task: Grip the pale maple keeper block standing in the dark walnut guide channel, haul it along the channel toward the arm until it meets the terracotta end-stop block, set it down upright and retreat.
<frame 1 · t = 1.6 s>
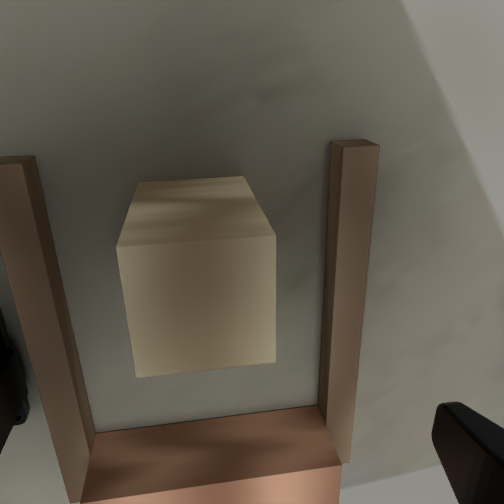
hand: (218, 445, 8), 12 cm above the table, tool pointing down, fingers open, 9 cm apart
keeper block: (195, 227, 19), on the table
guide track: (203, 329, 21), on the table
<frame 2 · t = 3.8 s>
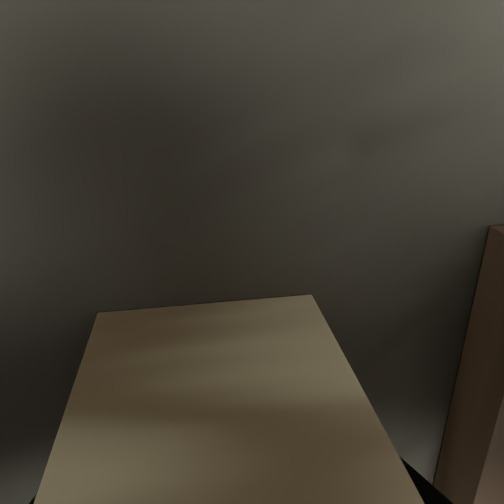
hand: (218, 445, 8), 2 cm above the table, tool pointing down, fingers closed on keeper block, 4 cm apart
keeper block: (213, 387, 10), on the table, touching gripper
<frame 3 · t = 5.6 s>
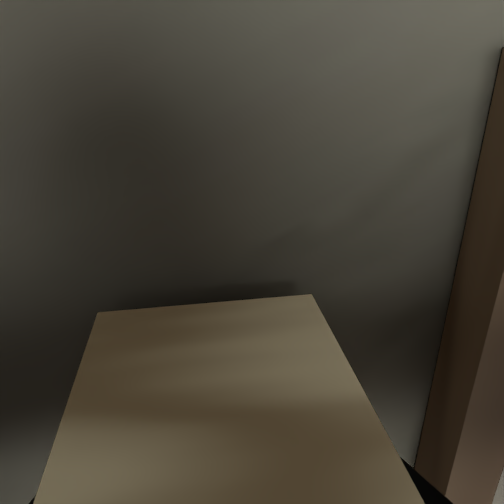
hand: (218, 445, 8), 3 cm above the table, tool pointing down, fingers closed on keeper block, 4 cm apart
keeper block: (213, 386, 10), point 1 cm above the table, touching gripper
guide track: (215, 415, 11), on the table
when the fingers open (2 cm above the table, at t = 7.8 s): keeper block stays where it is, on the table.
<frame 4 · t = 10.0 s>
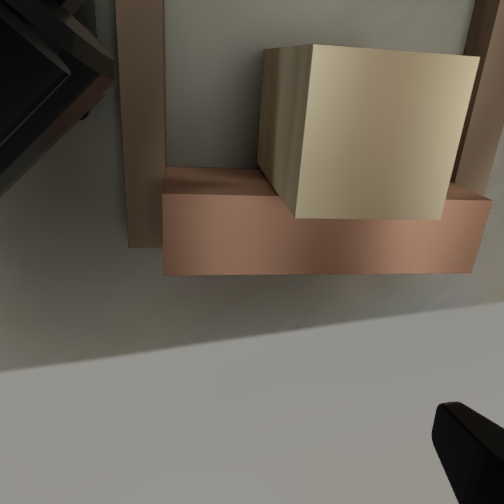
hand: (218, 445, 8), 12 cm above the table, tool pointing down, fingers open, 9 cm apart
keeper block: (313, 111, 18), on the table
guide track: (324, 21, 17), on the table
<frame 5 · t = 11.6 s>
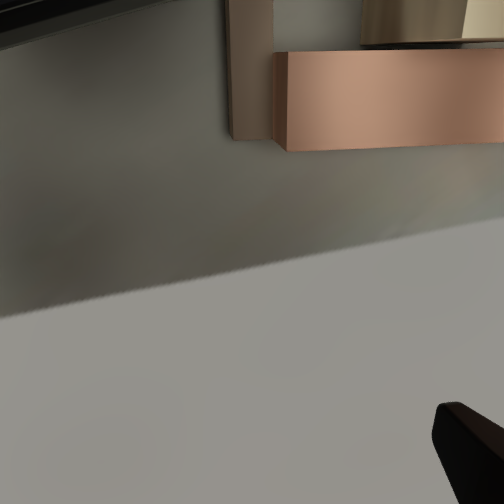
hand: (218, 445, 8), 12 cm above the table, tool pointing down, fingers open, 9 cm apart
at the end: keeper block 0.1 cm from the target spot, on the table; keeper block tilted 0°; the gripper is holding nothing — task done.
